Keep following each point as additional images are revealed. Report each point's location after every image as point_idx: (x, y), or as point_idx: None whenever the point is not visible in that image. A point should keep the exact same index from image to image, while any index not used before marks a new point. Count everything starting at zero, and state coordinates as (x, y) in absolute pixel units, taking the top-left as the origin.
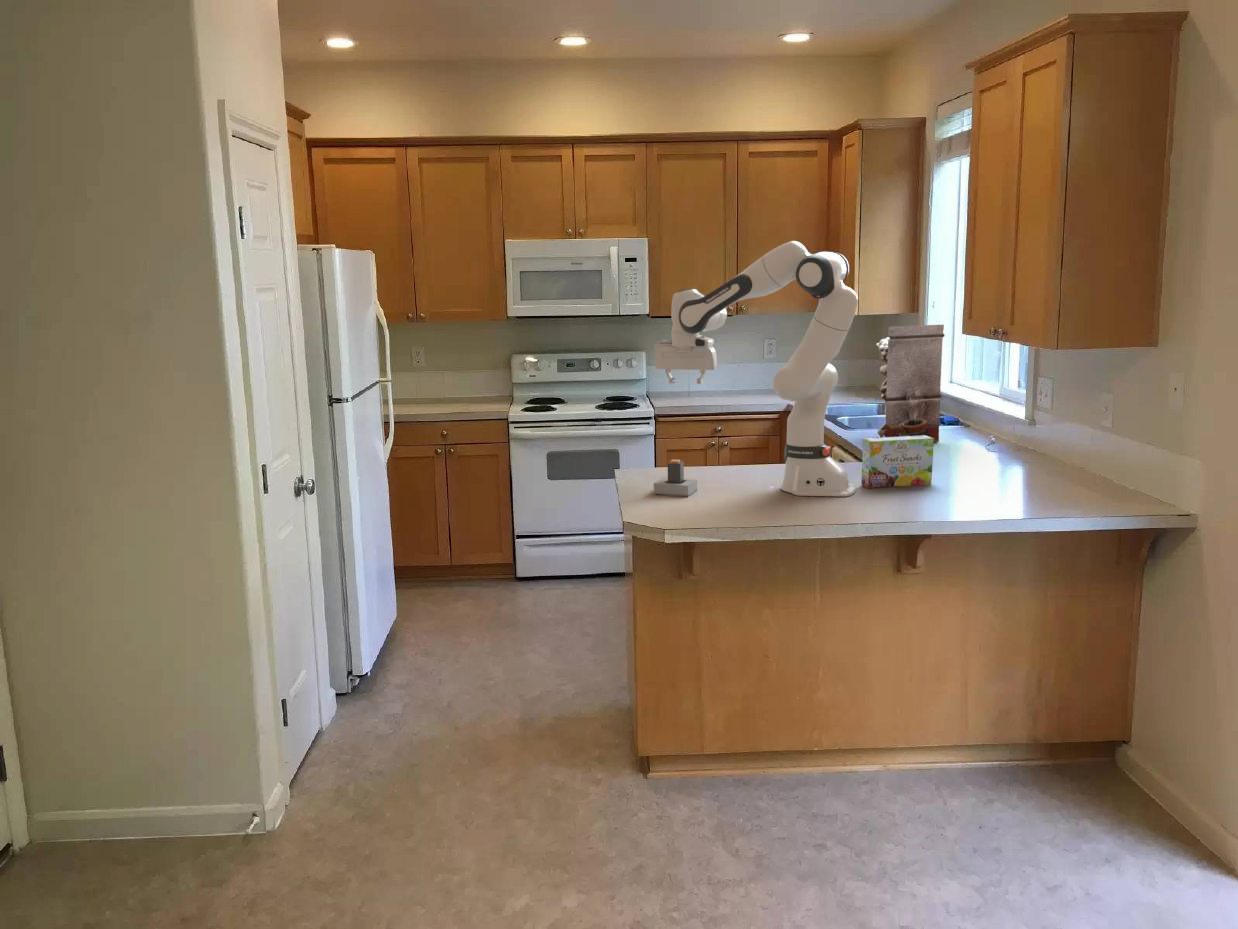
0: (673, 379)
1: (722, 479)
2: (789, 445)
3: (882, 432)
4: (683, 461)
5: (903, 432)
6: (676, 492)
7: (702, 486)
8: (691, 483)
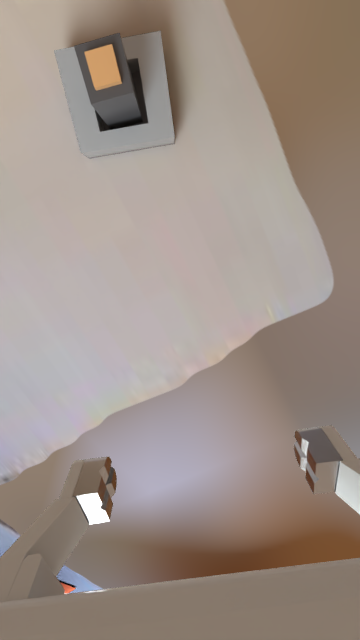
0: (308, 458)
1: (103, 292)
2: None
3: None
4: (90, 102)
5: None
6: None
7: (103, 209)
8: (64, 90)
